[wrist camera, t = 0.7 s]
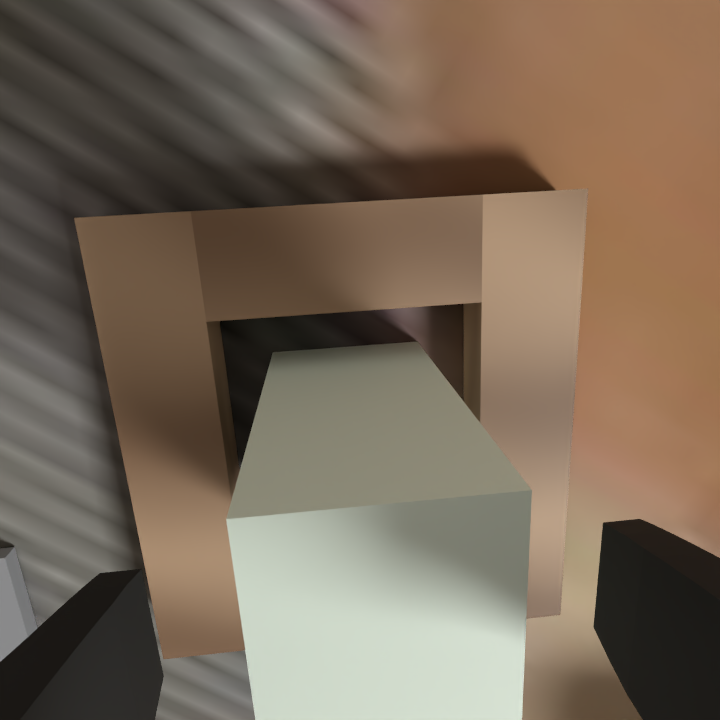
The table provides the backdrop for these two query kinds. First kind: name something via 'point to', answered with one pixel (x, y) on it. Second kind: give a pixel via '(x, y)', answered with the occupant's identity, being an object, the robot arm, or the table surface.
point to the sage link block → (378, 545)
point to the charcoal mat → (13, 604)
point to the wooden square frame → (318, 296)
